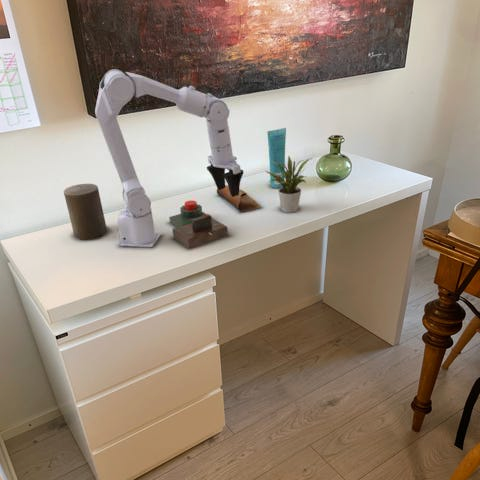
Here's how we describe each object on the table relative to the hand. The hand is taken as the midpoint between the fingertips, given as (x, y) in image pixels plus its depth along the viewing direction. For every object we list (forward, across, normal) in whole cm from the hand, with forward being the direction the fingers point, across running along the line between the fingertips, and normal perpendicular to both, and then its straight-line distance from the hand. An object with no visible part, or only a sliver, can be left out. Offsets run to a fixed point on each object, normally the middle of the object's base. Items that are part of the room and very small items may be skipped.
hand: (228, 192), depth 144 cm
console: (+9, -2, +12) cm, 15 cm away
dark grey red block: (+6, -3, +12) cm, 14 cm away
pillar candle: (+6, +21, +37) cm, 43 cm away
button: (+6, +11, +8) cm, 15 cm away
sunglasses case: (+11, +15, -11) cm, 22 cm away
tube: (+13, +19, -30) cm, 38 cm away
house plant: (+13, 0, -22) cm, 25 cm away
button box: (+9, +10, +10) cm, 16 cm away
